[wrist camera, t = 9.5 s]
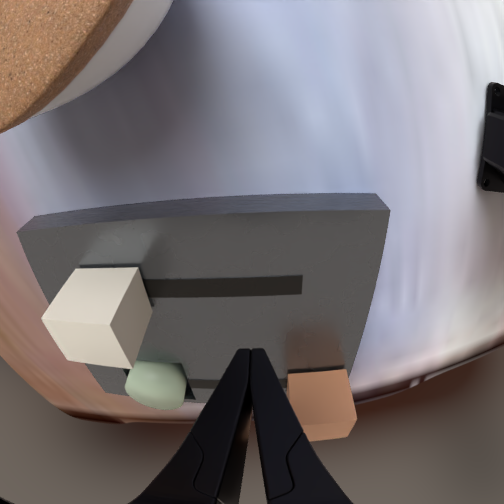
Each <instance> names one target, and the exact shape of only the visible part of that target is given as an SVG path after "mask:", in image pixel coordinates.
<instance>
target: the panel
mask: <svg viewBox="0 0 504 504" xmlns="http://www.w3.org/2000/svg"><path fill="white" fill-rule="evenodd" d="M389 216H390V209H389V208H388V207H387V206H386V204H385V203H384V202H383V201H382V200H381V199H380V198H379V197H378V196H377V194H370V193H317V194H274V195H248V196H228V197H211V198H196V199H182V200H170V201H158V202H147V203H136V204H127V205H117V206H108V207H100V208H91V209H83V210H76V211H68V212H61V213H54V214H47V215H40V216H34V217H33V218H32V219H31V220H30V221H28V222H27V223H26V224H25V225H24V226H23V227H22V228H21V229H19V230H18V231H17V234H18V237H19V239H20V242H21V244H22V247H23V249H24V252H25V254H26V257H27V259H28V261H29V263H30V266H31V268H32V270H33V272H34V275H35V277H36V279H37V281H38V283H39V285H40V287H41V289H42V291H43V293H44V295H45V297H46V299H47V301H48V303H49V305H50V304H51V303H52V301H53V300H54V298H55V297H56V295H57V294H58V292H59V291H60V290H61V288H62V287H63V285H64V284H65V283H66V281H67V280H68V278H69V277H70V276H71V274H72V273H73V272H74V270H75V269H84V268H132V267H138V268H139V271H140V275H141V278H142V281H143V284H144V287H145V290H146V293H147V296H148V299H149V302H150V305H151V308H152V311H153V312H152V315H151V318H150V321H149V323H148V326H147V329H146V332H145V335H144V338H143V341H142V343H141V346H140V349H139V352H138V355H137V358H136V360H137V361H149V362H164V363H182V366H183V368H184V371H185V374H186V376H187V385H186V390H185V396H184V402H196V403H207V401H208V400H209V398H210V396H211V395H212V393H213V391H214V389H215V388H216V386H217V384H218V383H219V381H220V379H221V377H222V376H223V374H224V372H225V370H226V369H227V367H228V365H229V363H230V362H231V360H232V358H233V356H234V355H235V353H236V351H237V350H238V349H240V348H249V349H253V348H263V349H264V350H265V351H266V353H267V356H268V358H269V360H270V362H271V364H272V366H273V368H274V370H275V373H276V375H277V377H278V379H279V381H280V383H281V385H282V387H283V389H284V391H285V393H286V394H287V380H288V374H295V373H309V372H322V371H332V370H342V369H346V370H347V375H348V378H349V375H350V372H351V369H352V366H353V363H354V360H355V357H356V354H357V351H358V347H359V344H360V341H361V338H362V334H363V331H364V327H365V324H366V320H367V317H368V313H369V309H370V305H371V302H372V298H373V294H374V290H375V285H376V281H377V277H378V273H379V268H380V263H381V259H382V254H383V249H384V244H385V239H386V233H387V228H388V222H389ZM85 364H86V366H87V367H88V369H89V370H90V372H91V373H92V375H93V376H94V377H95V379H96V380H97V382H98V383H99V384H100V386H101V387H102V388H103V390H104V391H105V392H106V393H112V394H118V395H125V396H129V395H128V393H127V392H126V390H125V384H126V381H127V378H128V375H129V371H130V369H127V368H118V367H110V366H102V365H95V364H88V363H85Z"/></svg>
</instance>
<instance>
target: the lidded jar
mask: <svg viewBox="0 0 504 504" xmlns="http://www.w3.org/2000/svg"><path fill="white" fill-rule="evenodd" d="M172 2H173V0H0V134H1V133H3V132H5V131H7V130H9V129H11V128H13V127H15V126H17V125H19V124H21V123H23V122H25V121H26V120H28V119H30V118H33V117H35V116H38V115H40V114H43V113H45V112H48V111H50V110H52V109H55V108H57V107H60V106H62V105H64V104H66V103H68V102H70V101H72V100H74V99H76V98H77V97H79V96H81V95H83V94H85V93H87V92H88V91H90V90H92V89H93V88H95V87H96V86H98V85H99V84H101V83H102V82H104V81H105V80H107V79H108V78H109V77H111V76H112V75H114V74H115V73H116V72H117V71H119V70H120V69H121V68H122V67H123V66H124V65H126V64H127V63H128V62H129V61H130V60H131V59H132V58H133V57H134V56H135V55H136V54H137V53H138V52H139V51H140V50H141V49H142V48H143V47H144V45H145V44H146V43H147V41H148V40H149V39H150V38H151V36H152V35H153V34H154V33H155V31H156V30H157V29H158V27H159V25H160V24H161V22H162V20H163V19H164V17H165V16H166V14H167V13H168V11H169V8H170V6H171V4H172Z"/></svg>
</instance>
